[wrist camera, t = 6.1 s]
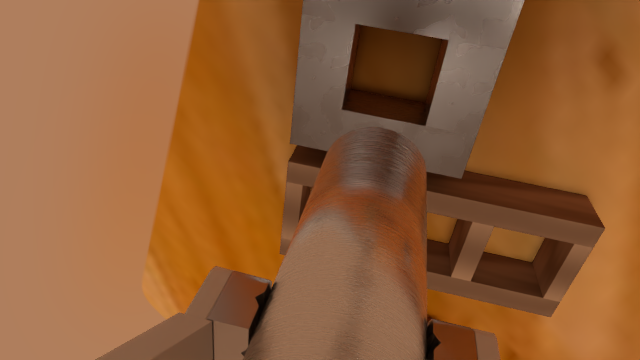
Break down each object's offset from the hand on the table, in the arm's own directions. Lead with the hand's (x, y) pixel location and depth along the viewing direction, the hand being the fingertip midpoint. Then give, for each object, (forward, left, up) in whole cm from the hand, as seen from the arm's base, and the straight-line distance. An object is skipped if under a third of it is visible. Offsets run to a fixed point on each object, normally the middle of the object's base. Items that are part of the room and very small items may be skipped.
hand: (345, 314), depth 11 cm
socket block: (0, 0, -23) cm, 23 cm away
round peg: (0, 0, -7) cm, 7 cm away
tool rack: (+12, +5, -23) cm, 26 cm away
